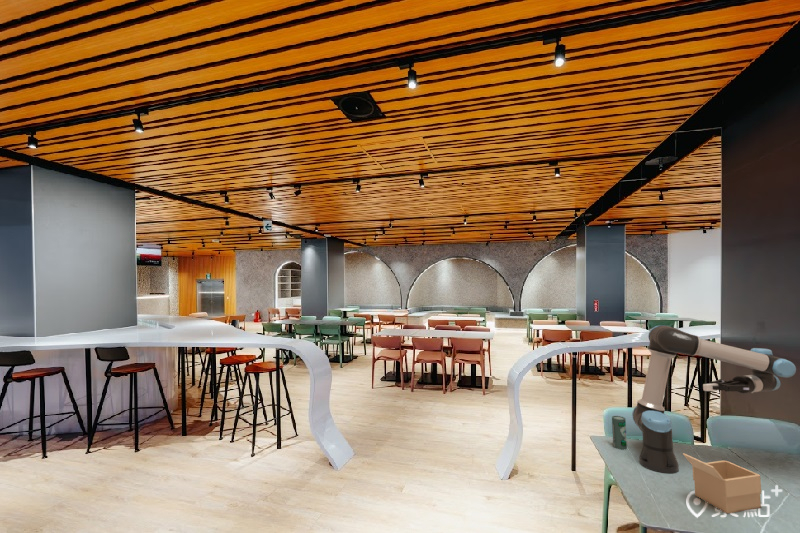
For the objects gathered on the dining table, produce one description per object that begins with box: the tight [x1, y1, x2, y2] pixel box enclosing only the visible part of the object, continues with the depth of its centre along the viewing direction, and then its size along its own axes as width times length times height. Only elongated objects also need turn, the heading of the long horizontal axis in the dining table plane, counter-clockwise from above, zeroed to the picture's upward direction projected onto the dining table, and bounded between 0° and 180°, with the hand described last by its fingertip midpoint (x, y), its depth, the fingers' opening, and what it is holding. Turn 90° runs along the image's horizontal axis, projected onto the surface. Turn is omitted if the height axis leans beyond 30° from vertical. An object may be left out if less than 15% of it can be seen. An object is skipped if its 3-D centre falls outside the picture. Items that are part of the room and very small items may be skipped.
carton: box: [692, 460, 762, 514], centre depth 147 cm, size 16×13×12 cm
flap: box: [682, 452, 724, 481], centre depth 145 cm, size 7×12×1 cm
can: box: [611, 415, 628, 451], centre depth 198 cm, size 6×6×15 cm
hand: (704, 387), depth 169 cm, fingers closed
